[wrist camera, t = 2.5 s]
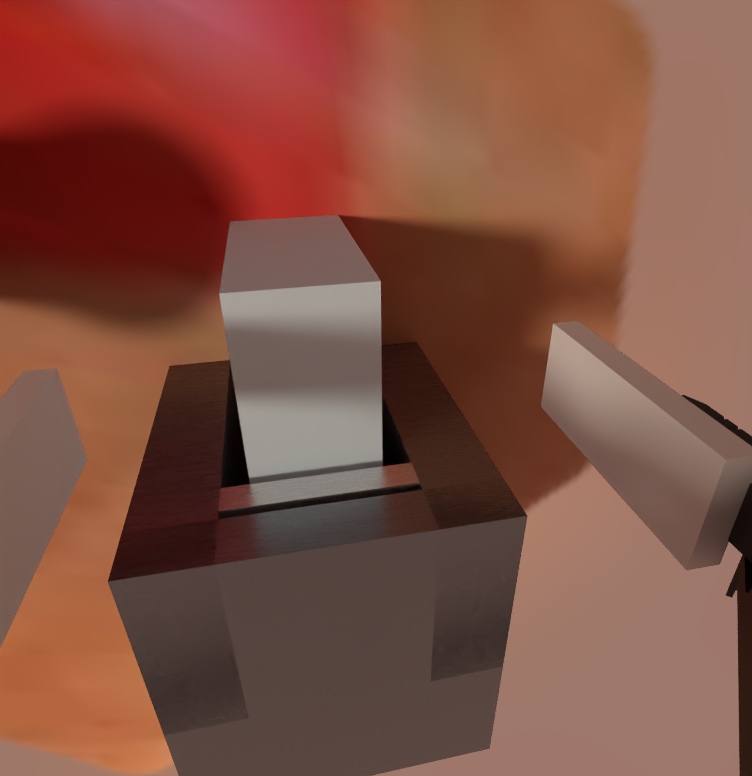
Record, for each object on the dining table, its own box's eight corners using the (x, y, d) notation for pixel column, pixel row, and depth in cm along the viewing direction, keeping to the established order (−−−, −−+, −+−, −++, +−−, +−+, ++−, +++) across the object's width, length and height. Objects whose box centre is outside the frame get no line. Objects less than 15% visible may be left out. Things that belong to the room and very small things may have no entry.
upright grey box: (230, 221, 25) (219, 293, 17) (338, 214, 26) (380, 281, 17) (256, 406, 30) (258, 536, 21) (346, 396, 31) (382, 517, 22)
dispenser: (169, 366, 28) (107, 581, 16) (416, 342, 30) (527, 516, 18) (213, 562, 35) (193, 816, 23) (411, 531, 37) (489, 748, 25)
